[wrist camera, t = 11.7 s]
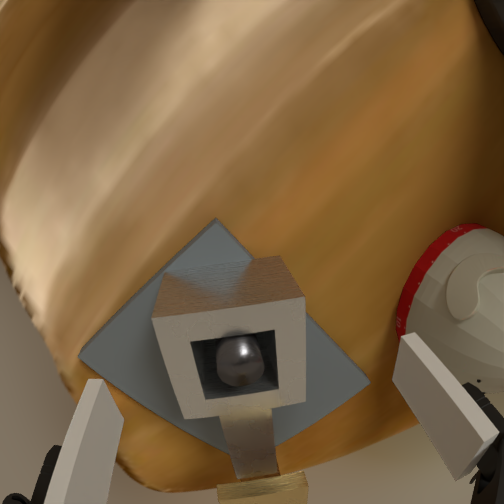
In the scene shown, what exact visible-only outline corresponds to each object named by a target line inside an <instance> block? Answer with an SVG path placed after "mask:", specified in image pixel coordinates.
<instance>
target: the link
mask: <svg viewBox="0 0 504 504" xmlns="http://www.w3.org/2000/svg"><path fill="white" fill-rule="evenodd" d="M151 319H152V322H153V326H154V329H155V333H156V336H157V340H158V343H159V346H160V350H161V353H162V356H163V359H164V362H165V365H166V368H167V371H168V374H169V377H170V380H171V383H172V386H173V389H174V392H175V395H176V398H177V400H178V403H179V406H180V409H181V411H182V414H183V417H184V419H195V418H206V417H215V416H219V418H220V422H221V425H222V429H223V432H224V436H225V440H226V443H227V447H228V450H229V453H230V457H231V460H232V464H233V467H234V470H235V473H236V477H237V479H242V478H249V477H256V476H263V475H269V474H274V473H277V463H276V452H275V441H274V430H273V419H272V408H276V407H281V406H286V405H291V404H296V403H301V402H306V312H305V295H304V294H303V292H302V291H301V289H300V287H299V286H298V284H297V283H296V281H295V279H294V278H293V276H292V275H291V273H290V271H289V270H288V268H287V267H286V265H285V263H284V262H283V260H282V259H281V257H280V255H279V256H272V257H265V258H258V259H251V260H244V261H236V262H229V263H222V264H215V265H207V266H200V267H193V268H185V269H178V270H171V271H165V273H164V276H163V279H162V283H161V286H160V289H159V293H158V296H157V300H156V303H155V307H154V310H153V314H152V317H151ZM256 332H262V333H263V334H261V335H256V336H257V340H258V344H259V347H260V351H261V355H262V359H263V362H264V372H263V374H262V376H261V377H260V378H259V379H258V380H257V381H256V382H254V383H252V384H250V385H246V386H232V385H229V384H226V383H225V382H223V381H222V380H221V379H220V378H219V376H218V373H217V362H216V347H215V341H213V342H205V343H204V340H207V339H215V338H222V337H229V336H236V335H243V334H250V333H256Z"/></svg>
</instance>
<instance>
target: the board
mask: <svg viewBox="0 0 504 504" xmlns="http://www.w3.org/2000/svg"><path fill="white" fill-rule="evenodd" d="M251 259H255V258H254V257H253V256H252V255H251V254H250V253H249V252H248V251H247V250H246V249H245V248H244V247H243V246H242V245H241V244H240V243H239V242H238V240H237V239H236V238H235V237H234V236H233V235H232V234H231V233H230V232H229V231H228V230H227V229H226V228H225V227H224V226H223V225H222V224H221V223H220V222H219V221H218V219H217V218H215V219H214V220H213V221H212V222H210V223H209V224H208V225H207V226H206V227H205V228H204V229H203V230H202V231H201V232H200V233H198V234H197V235H196V236H195V237H194V238H193V239H192V240H191V241H190V242H189V243H188V244H187V245H186V246H184V247H183V248H182V249H181V250H180V251H179V252H178V253H177V254H176V255H175V256H174V257H173V258H172V259H171V260H170V261H169V262H168V263H166V264H165V265H164V266H163V267H162V268H161V269H160V270H159V271H158V272H157V273H156V274H155V275H154V276H153V277H152V278H151V279H150V280H149V281H148V282H147V283H146V284H145V285H144V286H143V287H142V288H141V289H140V290H139V291H138V292H137V293H135V294H134V295H133V296H132V297H131V298H130V299H129V300H128V301H127V302H126V303H125V304H124V305H123V306H122V307H121V308H120V309H119V310H118V311H117V312H116V313H115V314H114V315H113V316H112V317H111V318H110V319H109V320H108V322H107V323H106V324H105V325H104V326H103V327H102V328H101V329H100V330H99V331H98V332H97V333H96V334H95V335H94V336H93V337H92V338H91V339H90V340H89V341H88V342H87V343H86V344H85V345H84V346H83V347H82V349H81V351H80V353H79V355H78V358H79V359H81V360H82V361H83V362H84V363H86V364H87V365H88V366H89V367H91V368H92V369H93V370H94V371H96V372H97V373H98V374H100V375H101V376H102V377H104V378H105V379H106V380H108V381H109V382H110V383H112V384H113V385H114V386H116V387H117V388H119V389H120V390H121V391H123V392H124V393H126V394H127V395H129V396H130V397H131V398H133V399H134V400H136V401H137V402H139V403H140V404H142V405H143V406H145V407H146V408H148V409H149V410H151V411H153V412H154V413H156V414H157V415H159V416H161V417H162V418H164V419H165V420H167V421H169V422H170V423H172V424H174V425H175V426H177V427H179V428H181V429H182V430H184V431H186V432H187V433H189V434H191V435H193V436H195V437H196V438H198V439H200V440H202V441H204V442H206V443H208V444H210V445H211V446H213V447H215V448H217V449H219V450H221V451H223V452H225V453H227V454H229V455H230V453H229V450H228V447H227V443H226V440H225V436H224V432H223V429H222V425H221V422H220V418H219V416H215V417H206V418H195V419H184V417H183V414H182V411H181V409H180V406H179V403H178V400H177V398H176V395H175V392H174V389H173V386H172V383H171V380H170V377H169V374H168V371H167V368H166V365H165V362H164V359H163V356H162V353H161V350H160V346H159V343H158V340H157V336H156V333H155V329H154V326H153V322H152V319H151V317H152V314H153V310H154V307H155V303H156V300H157V296H158V293H159V289H160V286H161V283H162V279H163V276H164V273H165V271H171V270H178V269H185V268H193V267H200V266H207V265H215V264H222V263H229V262H236V261H244V260H251ZM261 334H263V333H262V332H256V335H261ZM213 341H215V339H207V340H204V343H205V342H213ZM370 383H371V382H370V380H369V379H368V377H367V376H366V374H365V373H364V372H363V371H362V370H361V369H360V368H359V367H358V366H357V365H356V364H355V363H354V362H353V361H352V360H351V359H350V358H349V357H348V356H347V354H346V353H345V352H344V351H343V350H342V349H341V348H340V347H339V346H338V345H337V344H336V343H335V342H334V341H333V340H332V339H331V338H330V337H329V336H328V335H327V334H326V333H325V332H324V330H323V329H322V328H321V327H320V326H319V325H318V324H317V323H316V322H315V321H314V320H313V319H312V318H311V317H310V316H309V315H308V314H307V313H306V402H301V403H296V404H291V405H286V406H281V407H276V408H272V419H273V430H274V441H275V447H276V446H277V445H279V444H281V443H283V442H284V441H286V440H288V439H289V438H291V437H293V436H294V435H296V434H298V433H299V432H301V431H302V430H304V429H306V428H307V427H309V426H310V425H312V424H313V423H315V422H317V421H318V420H320V419H321V418H323V417H324V416H326V415H327V414H329V413H330V412H331V411H333V410H334V409H336V408H337V407H339V406H340V405H342V404H343V403H344V402H346V401H347V400H348V399H350V398H351V397H353V396H354V395H355V394H357V393H358V392H359V391H361V390H362V389H363V388H365V387H366V386H367V385H369V384H370Z"/></svg>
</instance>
